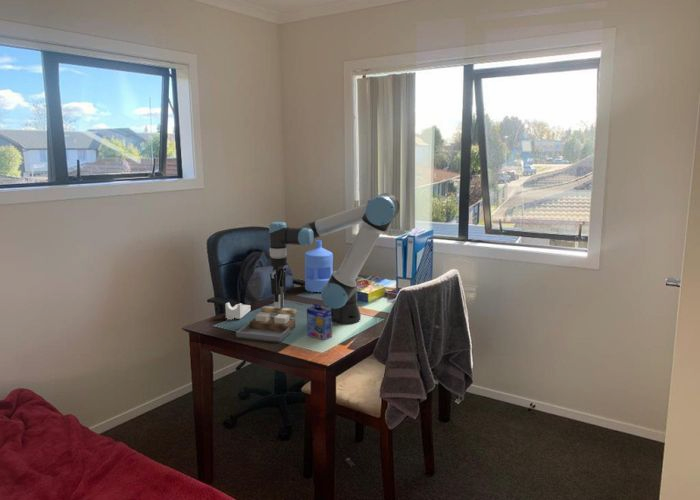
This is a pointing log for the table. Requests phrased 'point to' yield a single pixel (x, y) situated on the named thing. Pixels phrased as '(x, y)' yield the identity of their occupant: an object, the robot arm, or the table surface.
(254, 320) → the walnut board
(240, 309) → the bracket
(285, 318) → the tile
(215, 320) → the table surface
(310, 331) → the ink cartridge box
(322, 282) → the water jug
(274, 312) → the inverted t-shaped stand
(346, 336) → the table surface
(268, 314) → the tile
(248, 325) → the box
